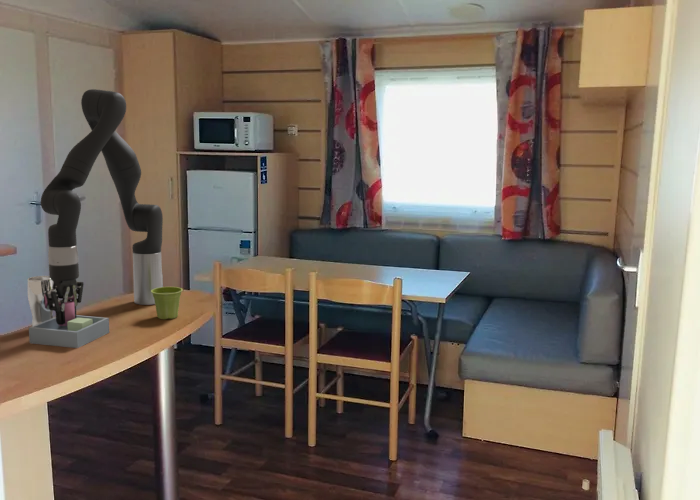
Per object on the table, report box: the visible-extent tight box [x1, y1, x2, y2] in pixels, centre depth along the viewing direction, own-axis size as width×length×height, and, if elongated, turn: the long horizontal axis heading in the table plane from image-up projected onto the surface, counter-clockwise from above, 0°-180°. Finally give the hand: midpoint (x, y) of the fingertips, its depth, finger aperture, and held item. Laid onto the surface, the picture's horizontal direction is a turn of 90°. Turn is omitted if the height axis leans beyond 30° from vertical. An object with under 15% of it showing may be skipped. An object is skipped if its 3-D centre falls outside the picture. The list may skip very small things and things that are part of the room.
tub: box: [28, 314, 110, 349], centre depth 180 cm, size 15×15×4 cm
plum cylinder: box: [58, 301, 75, 326], centre depth 181 cm, size 4×4×6 cm
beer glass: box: [27, 275, 54, 327], centre depth 186 cm, size 7×7×15 cm
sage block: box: [67, 318, 93, 331], centre depth 178 cm, size 5×5×5 cm
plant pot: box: [151, 286, 183, 320], centre depth 202 cm, size 9×9×9 cm
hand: (66, 321), depth 182 cm, fingers closed on plum cylinder, 4 cm apart
